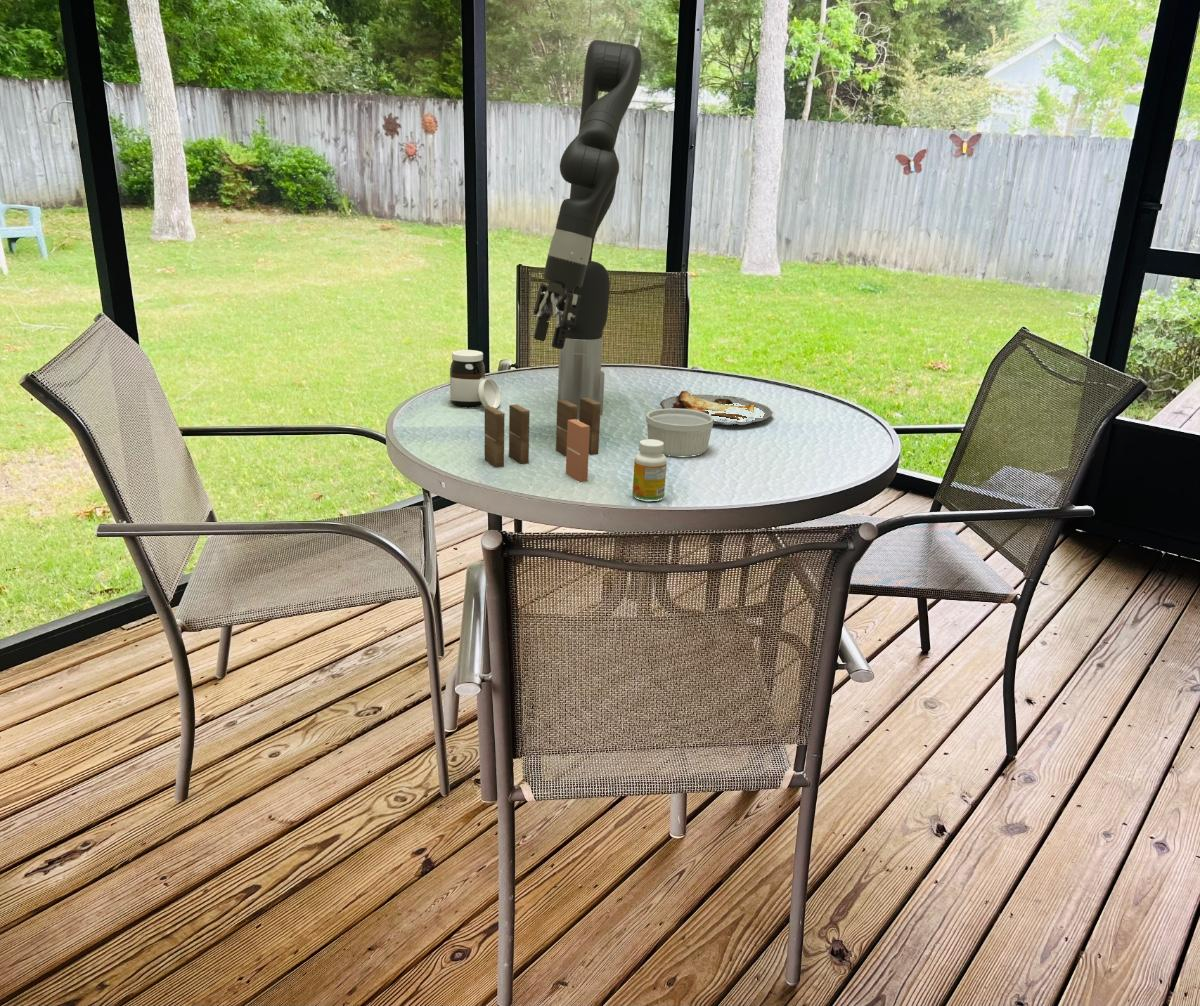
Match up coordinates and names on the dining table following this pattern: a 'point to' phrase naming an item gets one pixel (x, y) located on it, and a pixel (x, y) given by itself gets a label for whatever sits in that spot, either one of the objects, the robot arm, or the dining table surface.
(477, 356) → the spread jar
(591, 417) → the domino
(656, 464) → the supplement bottle
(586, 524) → the dining table surface
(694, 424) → the ramekin
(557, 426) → the domino
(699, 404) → the food plate
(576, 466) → the domino
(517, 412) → the domino
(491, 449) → the domino
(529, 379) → the dining table surface
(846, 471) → the dining table surface
